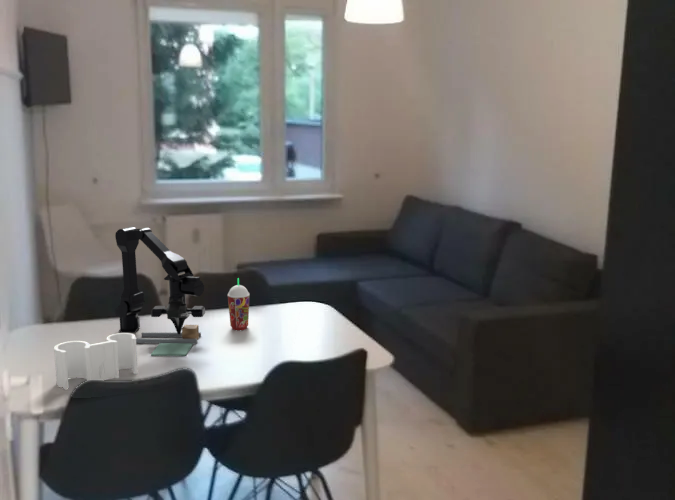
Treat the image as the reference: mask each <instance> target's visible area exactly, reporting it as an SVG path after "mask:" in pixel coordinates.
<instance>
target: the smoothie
mask: <svg viewBox="0 0 675 500" xmlns="http://www.w3.org/2000/svg"><path fill="white" fill-rule="evenodd" d="M236 279H237V284H236V285H234V286H232V287H231V288H229V291H228V293H227V302H228V313H229V321H230V322H229V324H230V328H231V329H232V330H233V331H236V330H237V331H239V332H240V330H241V331H244V330H246V329H248V326H249V316H250V315H249V313H250V292H249V291H248V289H247V288H246V287H245V286H244V285H242V284H240V278H239V277H238V278H236Z"/></svg>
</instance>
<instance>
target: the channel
mask: <svg viewBox="0 0 675 500" xmlns="http://www.w3.org/2000/svg"><path fill="white" fill-rule="evenodd" d="M201 337H202V332H200V331H199V338H201ZM159 343H193V344H198V340H197V339H187V338H182V331H181V333H180V334H178V333H177V331H173V332H171V331H169V332H166V331H165V332H162V331H159V332H158V331H144V332H143V331H142V332H141V338H139V337H138V338H137V337H136V344H159Z"/></svg>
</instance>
